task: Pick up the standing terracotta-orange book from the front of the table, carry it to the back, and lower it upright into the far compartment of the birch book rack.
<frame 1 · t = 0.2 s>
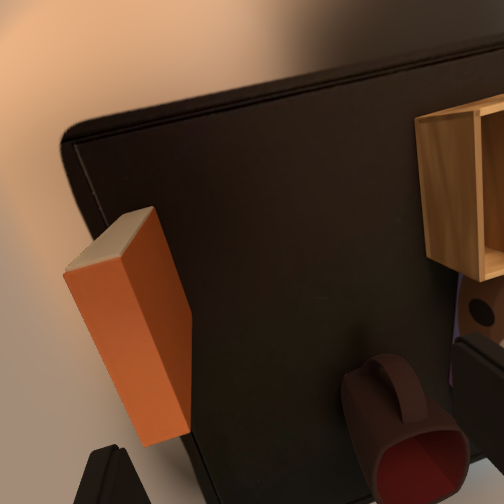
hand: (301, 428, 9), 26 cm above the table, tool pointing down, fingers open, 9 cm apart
cup: (361, 372, 43), on the table
book rack: (465, 179, 37), on the table
cereal box: (469, 320, 43), on the table
book: (159, 268, 35), on the table
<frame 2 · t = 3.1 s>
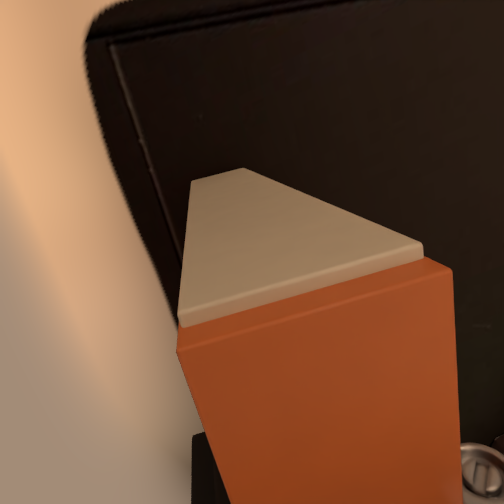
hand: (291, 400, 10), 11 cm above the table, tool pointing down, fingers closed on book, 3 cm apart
book: (244, 276, 21), on the table, touching gripper
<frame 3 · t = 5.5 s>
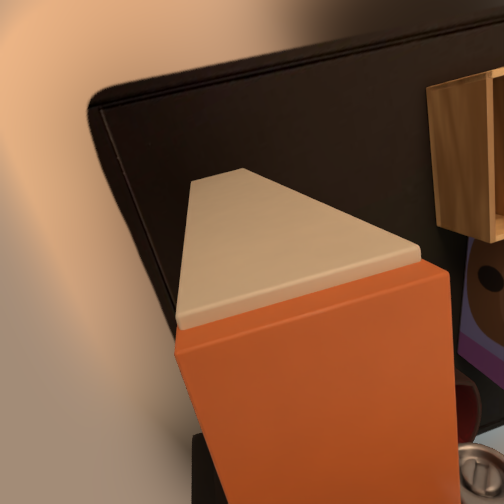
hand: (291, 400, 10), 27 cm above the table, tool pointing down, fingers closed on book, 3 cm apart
cup: (372, 341, 44), on the table
book rack: (475, 148, 38), on the table
cereal box: (477, 290, 44), on the table
book: (243, 277, 21), point 17 cm above the table, touching gripper
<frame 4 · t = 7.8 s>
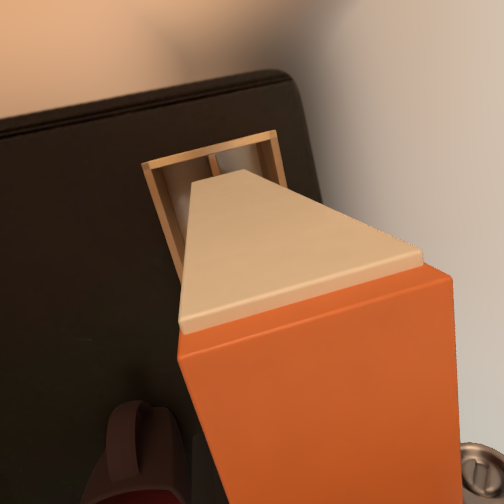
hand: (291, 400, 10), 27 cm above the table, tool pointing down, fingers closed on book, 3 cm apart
cup: (148, 412, 41), on the table
book rack: (225, 220, 36), on the table
book: (244, 277, 21), point 16 cm above the table, touching gripper
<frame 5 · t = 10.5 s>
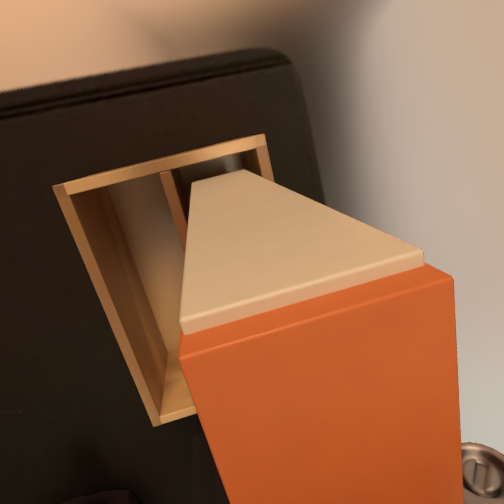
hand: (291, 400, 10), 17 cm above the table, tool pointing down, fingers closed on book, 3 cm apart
cup: (104, 496, 32), on the table
book rack: (200, 254, 27), on the table
book: (244, 277, 21), point 7 cm above the table, touching gripper
when the fingers open (11 cm above the table, at t = 12.4 s): book stays where it is, resting on book rack.
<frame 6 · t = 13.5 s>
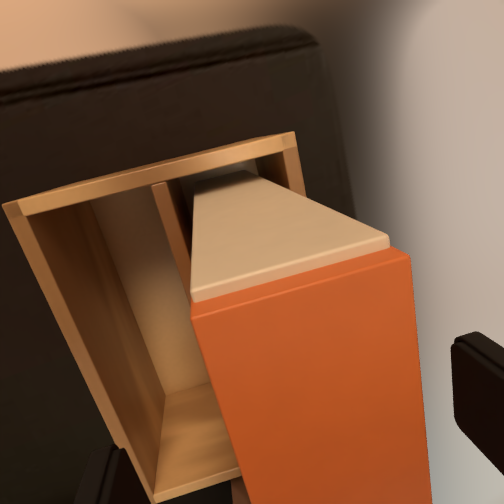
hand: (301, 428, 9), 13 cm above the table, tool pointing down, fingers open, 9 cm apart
book rack: (205, 278, 22), on the table
cereal box: (263, 477, 28), on the table
book: (244, 273, 21), point 1 cm above the table, touching book rack
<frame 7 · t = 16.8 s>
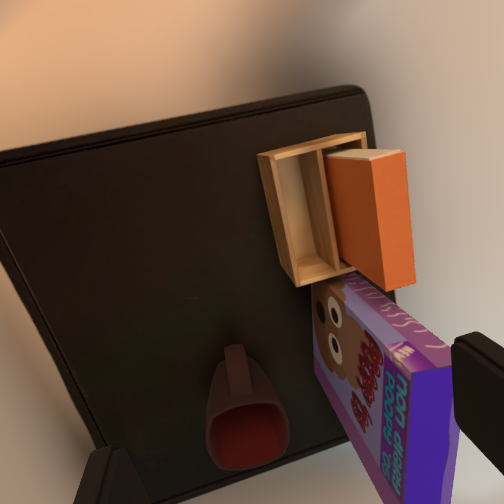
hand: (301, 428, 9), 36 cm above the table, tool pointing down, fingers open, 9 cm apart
cup: (235, 361, 51), on the table
book rack: (307, 202, 45), on the table
cereal box: (327, 318, 51), on the table
book: (327, 199, 45), point 1 cm above the table, touching book rack
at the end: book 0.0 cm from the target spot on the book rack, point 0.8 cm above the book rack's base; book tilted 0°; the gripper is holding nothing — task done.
